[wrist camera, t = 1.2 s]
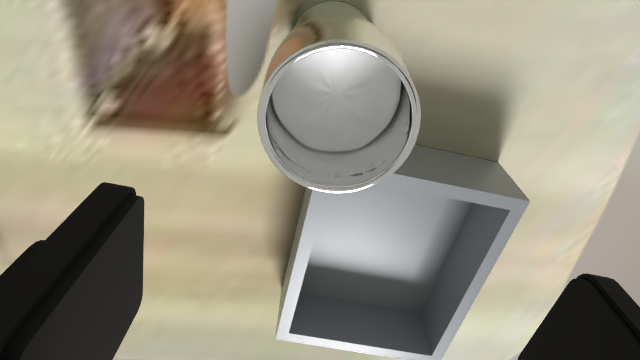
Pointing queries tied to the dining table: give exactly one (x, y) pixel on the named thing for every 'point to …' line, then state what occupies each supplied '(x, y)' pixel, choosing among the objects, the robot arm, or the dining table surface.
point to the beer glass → (337, 102)
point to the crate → (398, 256)
